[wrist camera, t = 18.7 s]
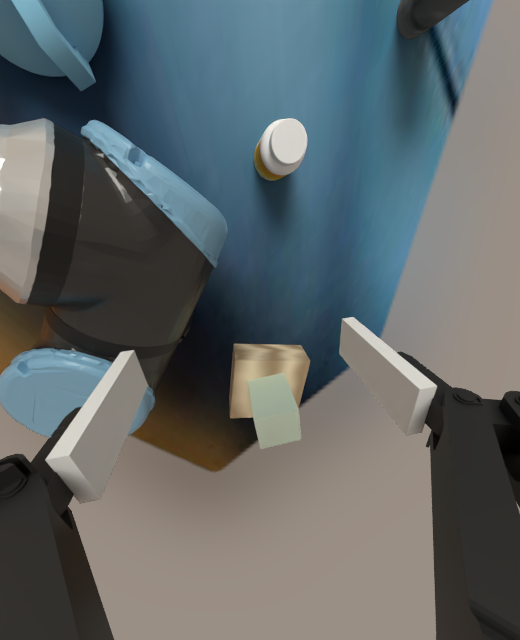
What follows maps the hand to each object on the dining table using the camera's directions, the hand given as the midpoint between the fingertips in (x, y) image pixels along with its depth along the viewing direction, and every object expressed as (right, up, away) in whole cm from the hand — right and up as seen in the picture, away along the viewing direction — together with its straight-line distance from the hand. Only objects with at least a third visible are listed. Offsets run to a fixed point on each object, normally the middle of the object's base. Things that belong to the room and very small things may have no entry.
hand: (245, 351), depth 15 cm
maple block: (+2, -9, +35) cm, 36 cm away
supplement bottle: (+3, +25, +19) cm, 31 cm away
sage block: (+3, -12, +30) cm, 32 cm away
